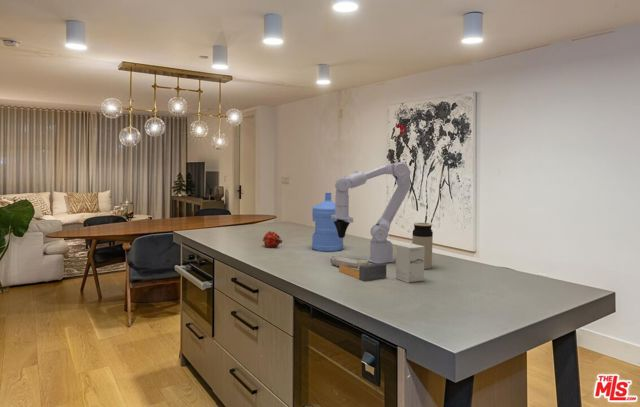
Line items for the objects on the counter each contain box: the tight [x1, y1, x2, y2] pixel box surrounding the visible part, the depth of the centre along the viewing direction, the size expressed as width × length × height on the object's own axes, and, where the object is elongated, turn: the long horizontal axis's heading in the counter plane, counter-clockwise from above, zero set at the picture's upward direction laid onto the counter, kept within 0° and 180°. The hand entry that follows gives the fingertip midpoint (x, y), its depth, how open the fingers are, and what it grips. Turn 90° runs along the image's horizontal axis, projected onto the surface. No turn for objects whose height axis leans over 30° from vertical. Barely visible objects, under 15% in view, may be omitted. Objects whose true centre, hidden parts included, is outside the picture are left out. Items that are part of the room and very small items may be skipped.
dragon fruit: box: [262, 230, 283, 249], centre depth 221 cm, size 8×8×12 cm
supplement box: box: [395, 243, 425, 284], centre depth 157 cm, size 7×7×13 cm
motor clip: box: [338, 263, 387, 282], centre depth 165 cm, size 10×17×5 cm, turn 30°
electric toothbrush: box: [330, 255, 369, 271], centre depth 171 cm, size 5×7×25 cm
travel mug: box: [411, 222, 434, 270], centre depth 177 cm, size 8×8×18 cm
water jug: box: [311, 192, 344, 253], centre depth 216 cm, size 16×16×28 cm
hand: (341, 237), depth 187 cm, fingers closed
